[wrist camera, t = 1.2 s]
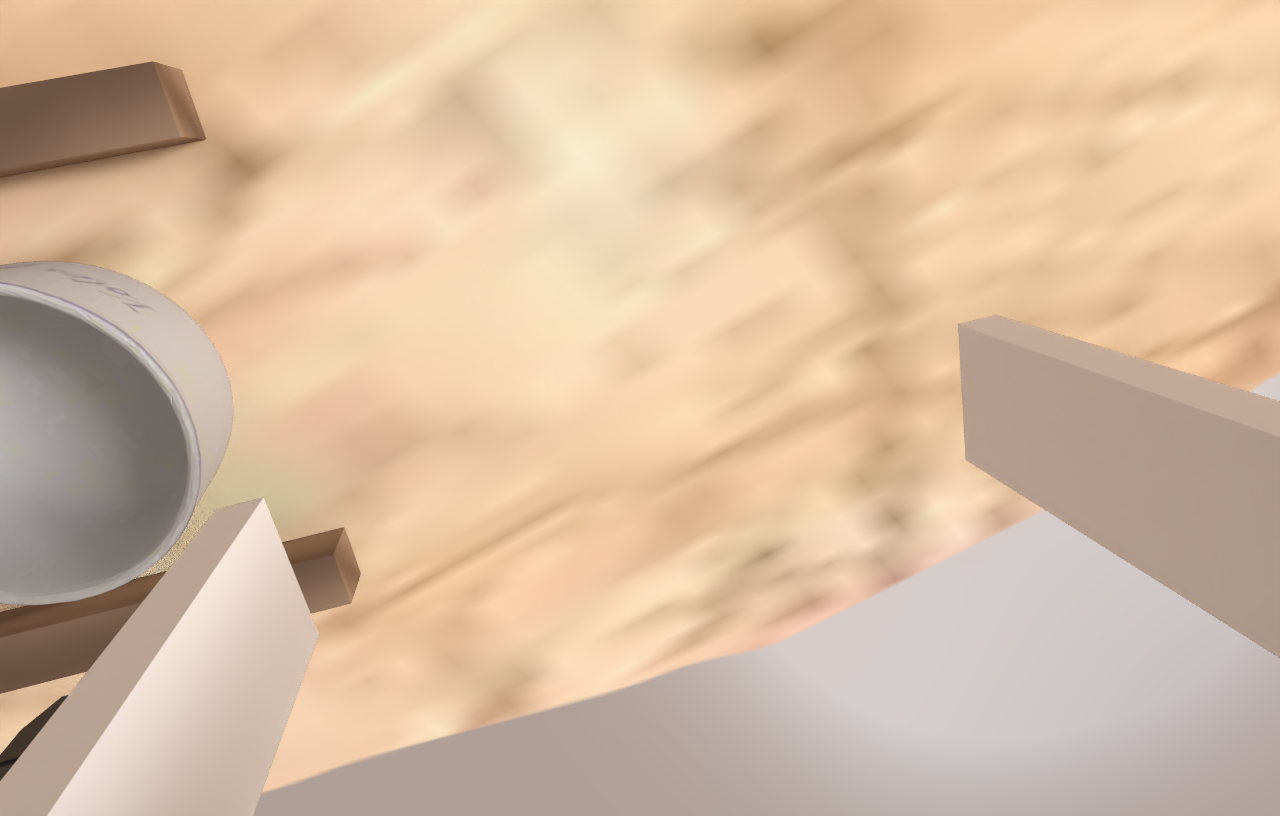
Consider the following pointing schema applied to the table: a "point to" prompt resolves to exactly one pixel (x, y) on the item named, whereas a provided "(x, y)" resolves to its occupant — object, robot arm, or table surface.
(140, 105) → the guide track
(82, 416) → the teacup
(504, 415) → the table surface
